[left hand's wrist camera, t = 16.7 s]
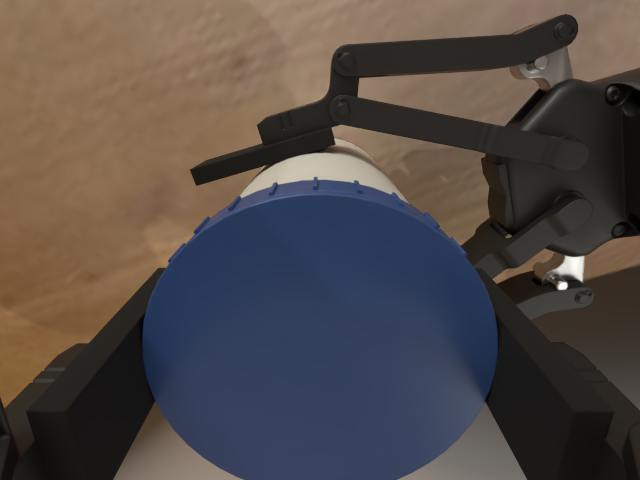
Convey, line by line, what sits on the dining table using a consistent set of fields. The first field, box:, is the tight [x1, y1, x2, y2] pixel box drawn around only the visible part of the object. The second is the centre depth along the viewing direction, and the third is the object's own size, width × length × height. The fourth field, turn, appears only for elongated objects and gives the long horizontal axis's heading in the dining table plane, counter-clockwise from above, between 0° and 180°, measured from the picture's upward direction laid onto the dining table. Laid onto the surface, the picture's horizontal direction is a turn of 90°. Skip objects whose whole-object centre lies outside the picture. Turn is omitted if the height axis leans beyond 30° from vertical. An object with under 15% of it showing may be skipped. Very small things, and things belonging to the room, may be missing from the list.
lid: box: [142, 177, 498, 480], centre depth 12 cm, size 10×10×2 cm
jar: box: [240, 138, 409, 204], centre depth 19 cm, size 9×9×15 cm
